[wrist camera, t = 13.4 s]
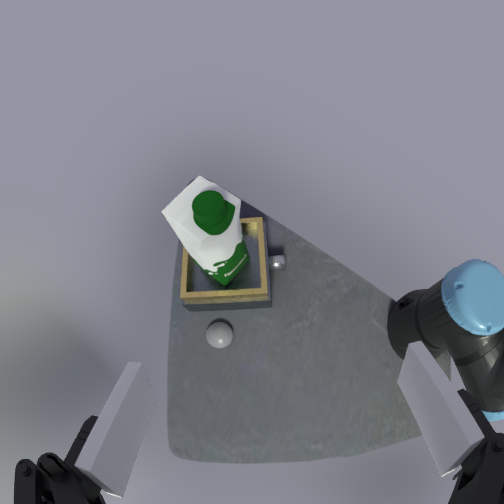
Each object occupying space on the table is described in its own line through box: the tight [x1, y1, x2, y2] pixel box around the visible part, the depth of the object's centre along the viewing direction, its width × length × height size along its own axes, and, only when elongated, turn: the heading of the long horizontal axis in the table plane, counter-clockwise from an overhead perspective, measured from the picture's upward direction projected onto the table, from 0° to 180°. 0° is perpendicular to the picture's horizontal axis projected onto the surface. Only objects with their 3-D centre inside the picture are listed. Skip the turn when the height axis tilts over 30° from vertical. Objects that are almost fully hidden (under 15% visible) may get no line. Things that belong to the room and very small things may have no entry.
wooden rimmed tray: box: [180, 217, 285, 311], centre depth 52 cm, size 19×16×8 cm
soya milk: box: [162, 176, 250, 287], centre depth 42 cm, size 9×9×20 cm
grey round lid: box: [206, 322, 233, 348], centre depth 50 cm, size 5×5×1 cm
